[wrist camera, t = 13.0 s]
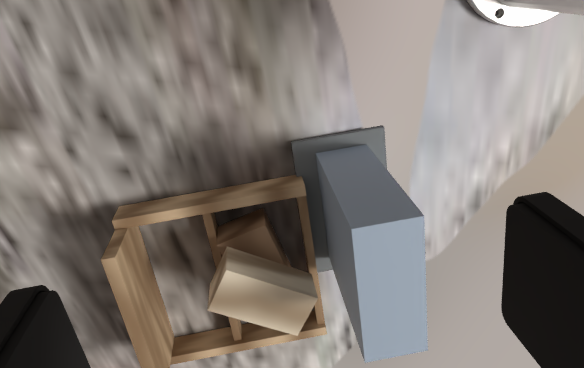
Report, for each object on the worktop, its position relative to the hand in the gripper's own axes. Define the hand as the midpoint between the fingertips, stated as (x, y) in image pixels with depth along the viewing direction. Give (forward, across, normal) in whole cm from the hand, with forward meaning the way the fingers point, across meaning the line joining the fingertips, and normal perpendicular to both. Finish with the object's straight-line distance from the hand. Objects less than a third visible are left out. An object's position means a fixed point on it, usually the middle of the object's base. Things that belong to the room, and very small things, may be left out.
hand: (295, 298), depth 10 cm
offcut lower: (+35, +2, +21) cm, 40 cm away
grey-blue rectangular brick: (+34, -7, +16) cm, 38 cm away
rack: (+34, +6, +21) cm, 41 cm away
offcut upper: (+31, +3, +21) cm, 37 cm away
